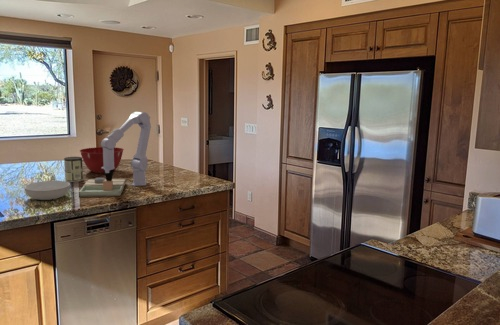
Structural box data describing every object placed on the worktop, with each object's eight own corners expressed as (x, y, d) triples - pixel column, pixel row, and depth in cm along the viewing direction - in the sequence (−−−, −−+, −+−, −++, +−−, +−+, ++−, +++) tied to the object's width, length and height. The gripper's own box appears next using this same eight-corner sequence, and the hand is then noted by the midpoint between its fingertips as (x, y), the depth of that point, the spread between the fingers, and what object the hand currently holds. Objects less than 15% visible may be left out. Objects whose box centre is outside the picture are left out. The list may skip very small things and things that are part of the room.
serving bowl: (17, 198, 197) (16, 185, 195) (56, 190, 214) (56, 178, 213) (38, 206, 185) (38, 192, 184) (78, 197, 203) (78, 184, 201)
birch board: (88, 183, 232) (88, 179, 231) (125, 183, 236) (125, 178, 236) (83, 190, 216) (83, 185, 216) (122, 189, 221) (122, 184, 220)
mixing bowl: (71, 173, 257) (70, 151, 255) (95, 166, 285) (95, 145, 282) (110, 177, 252) (109, 153, 250) (131, 169, 280) (130, 148, 277)
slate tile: (96, 181, 227) (95, 177, 227) (105, 180, 228) (104, 177, 228) (94, 183, 222) (94, 179, 222) (103, 182, 223) (103, 179, 223)
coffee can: (73, 177, 246) (72, 156, 244) (86, 179, 243) (85, 157, 241) (61, 181, 236) (60, 158, 234) (75, 182, 234) (74, 159, 231)
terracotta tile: (103, 180, 216) (102, 181, 214) (112, 180, 217) (112, 181, 215) (103, 189, 217) (103, 190, 215) (113, 189, 218) (112, 190, 216)
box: (83, 190, 216) (83, 186, 216) (122, 189, 221) (122, 185, 220) (78, 196, 204) (78, 191, 203) (120, 195, 208) (120, 191, 208)
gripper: (103, 157, 224) (103, 180, 227) (99, 161, 210) (99, 185, 213) (115, 157, 226) (116, 180, 228) (112, 161, 212) (113, 185, 214)
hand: (109, 182), depth 221 cm, fingers closed
